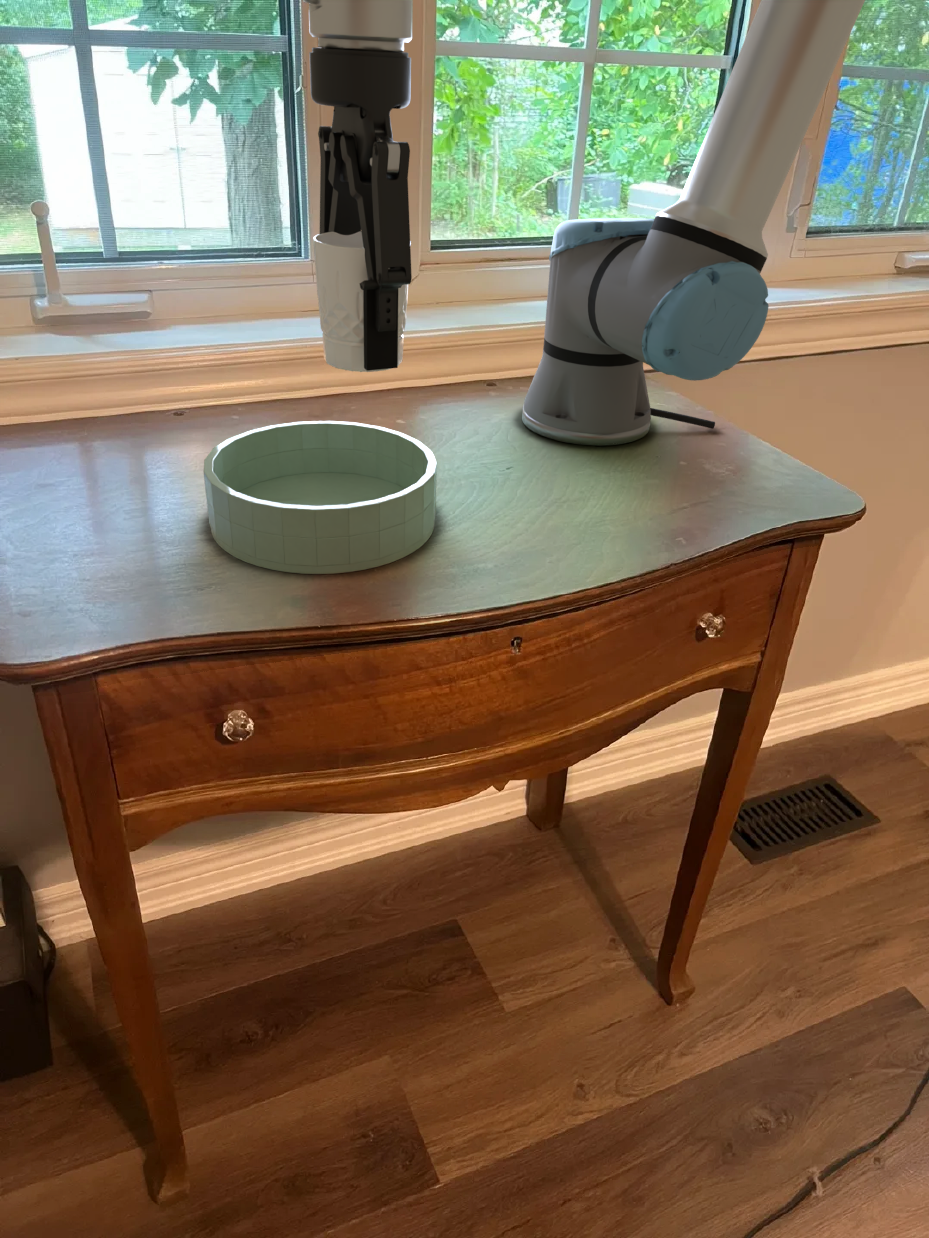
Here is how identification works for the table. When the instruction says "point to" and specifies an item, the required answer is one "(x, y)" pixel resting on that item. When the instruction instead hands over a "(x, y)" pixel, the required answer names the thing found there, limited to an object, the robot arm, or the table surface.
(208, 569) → the table surface
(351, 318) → the white cup
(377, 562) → the bowl
